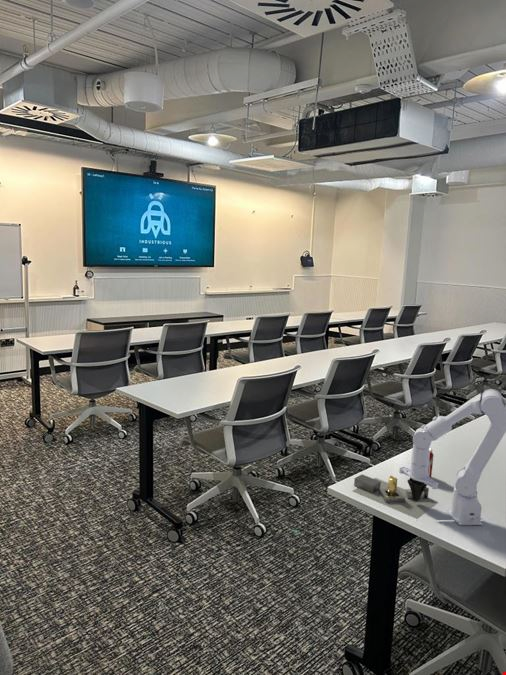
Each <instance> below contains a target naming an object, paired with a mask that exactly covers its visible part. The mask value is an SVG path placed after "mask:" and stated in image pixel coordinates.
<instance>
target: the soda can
mask: <svg viewBox="0 0 506 675" xmlns="http://www.w3.org/2000/svg"><path fill="white" fill-rule="evenodd" d="M434 457H435V456H434V453H433V449H432V448H430V457H429V466H428V476H429V477H430V478H432V476H433V475H432V474H433V465H434V464H433V462H434Z"/></svg>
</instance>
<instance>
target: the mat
mask: <svg viewBox="0 0 506 675" xmlns="http://www.w3.org/2000/svg"><path fill="white" fill-rule="evenodd" d="M373 479H375V480H378V481H380V482H381V486H380V489H388V482H387V481H385V480H382V479H379V478H377V477H375V478H373ZM397 489H399V491H400V492H401V493H402V495H403V496H404V497H405V503H385V501H384V500H383V498H382V497H381V495H380V494H379V490H378V491H377V492H375V493H370V492H368V491H365V490H363V489H361V488H358V487H356V488H355V489H353V490H352V492H353V493H355V494H358V495H360V496H363V497H364V498H367V499H370V500H372V501H375V502H377V503H379V504H382V505H383V506H386V507H388V508H390V509H393V510H395V511H398V512H400V513H402V514H405V515H407V516H408V517H412V518H414V519H416V520H418V519H419V518H420V517H422V516H423V515H424V514H425V513H426V512H428V511H430V510H431V509H432V508H433V507H435V506H436V505H437V504H438V503H439V502H438V501H436V500H433V499H431V498H429V497H428V498H420V500H418V501H414V500H413V498H407V496H406V489H405V488H403V487H399V486H398V485H397Z"/></svg>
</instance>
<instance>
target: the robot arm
mask: <svg viewBox="0 0 506 675" xmlns="http://www.w3.org/2000/svg"><path fill="white" fill-rule="evenodd" d="M472 414H475V415H483V414H484V415H486V416H487V418H488V420H489V421H490V424H489V426H488V428H487V430H486V432H485V433H484V435H483V437H482V438H481V439H480V441H479V443H478V445H477V447H476V449H475V451H473V454H472V455H471V457H470V459H469V460H468V462H466V463H465V465H464V466H463V467H461V468H460V469H459V470H457V474H456V481H455V484H454V485H455V486H454V487H453V492H452V500H451V501H452V502H451V508H446V509H445V511H446V512H447V513H448V514H449V515H450V516H451V517H452V519H453V520H454V522H455V523H456V524H458V526H482V525H483V523H482V522H481V515H482V510H483V509H482V504H481V502H480V501H479V498H478V491H477V489H478V487H477V486H478V483H479V481H480V478H481V476H482V473H483V471H484V469H485V467H486V466H487V464H488V462H489V460H490V459H491V457H492V456H493V454H494V453H495V451H496V449H497V447H498V446H499V444H500V442H501V440H502V439H503V437H504V436H505V434H506V400H505V399H504V397H503V395H502V394H501V392H500V391H498V390H497V389H494V388H487V389H486V390H484V391H483V392H482V393H478V394H477V395H475V396H473V397H472V398H469V400H467V401H466V402H465V403H463V404H462V405H460V406H459V407H458V408H456V409H455V410H454V411H452V412H451V413H449V414H447V415H446V416H445V415H444V416H443V415H439V416H434V417H432V421H429V422H428V423H427V424H423V425H421V426H420V427H418V428H417V429H416V430H415V432H414V434H413V437H412V450H411V460H410V468H408V467H405V466H402V467H401V466H400V467H399V474H403V475H405V476H407V477H409V479H407V483H408V486H409V489H411V492H412V498H413V500H414V501H418V500H420V497H421V494H422V492H423V491H424V489H425V488H426V487H427V486H429V487H430V488H431V489H432V490H437V489H439V484H440V483H439V482H437V481H436V480H434V479H433V478H432V477H431V478H430V477H429V476H428V466H429V457H430V449H431V444H432V442H433V441H437V440H438V439H439V438H441V437H443V436H445V435H447V434H448V433H449V432H451V431H452V427H453V425H455V424H457V423H458V422H460V421H462V420H463V419H465V418H467V417H469V416H471V415H472Z"/></svg>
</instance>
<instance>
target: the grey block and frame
mask: <svg viewBox="0 0 506 675" xmlns="http://www.w3.org/2000/svg"><path fill="white" fill-rule="evenodd" d="M353 486H354V487H356V488H361V489H363V490H365V491H368V492H370V493H375V492H377V491H378V490H379V494H380V495H381V497H382V498H383V500H384V501H385V503H405V497H404V496H403V495H402V493H401V492H400V491H399V489H397V491H396V496H388V495H387V492H388V489H380V486H381V482H380V481H378V480H375V479H374V478H373V477H370V476H367V475H365V474H362V473H361V474H359V475H358V476H356V477H355V478H354V482H353Z"/></svg>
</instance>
